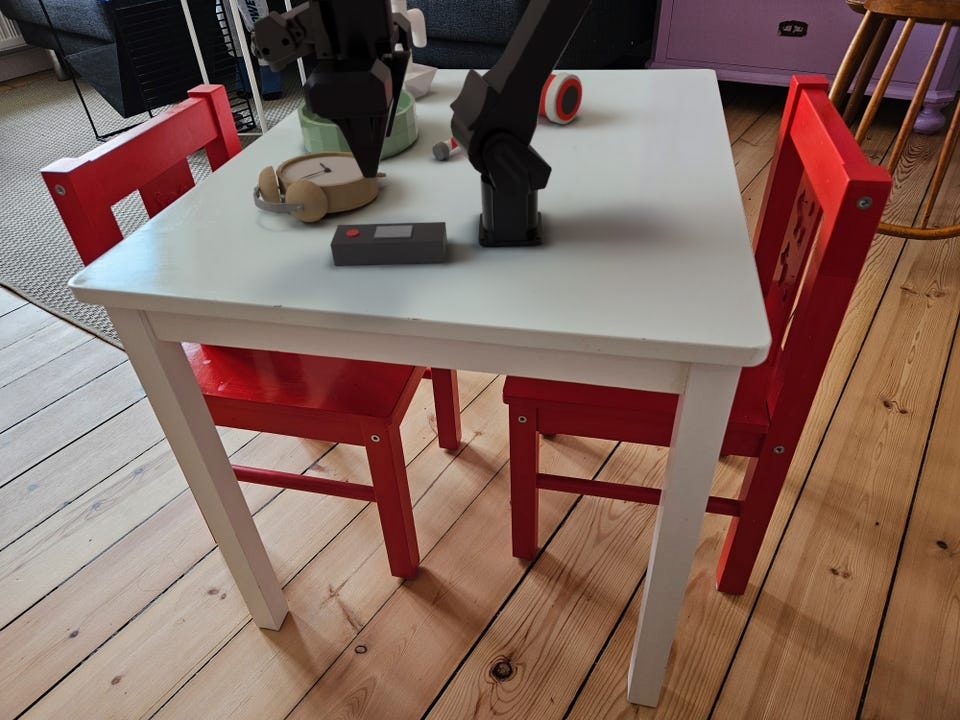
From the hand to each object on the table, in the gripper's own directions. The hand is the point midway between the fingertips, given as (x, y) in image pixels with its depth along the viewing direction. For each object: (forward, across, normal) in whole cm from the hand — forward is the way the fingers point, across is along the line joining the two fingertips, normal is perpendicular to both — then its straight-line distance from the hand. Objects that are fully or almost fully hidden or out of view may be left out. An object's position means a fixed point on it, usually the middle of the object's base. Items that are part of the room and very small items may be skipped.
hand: (378, 155), depth 65 cm
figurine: (+10, -48, -4) cm, 49 cm away
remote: (+10, 0, 0) cm, 10 cm away
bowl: (+10, -30, -8) cm, 33 cm away
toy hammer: (+10, -33, +12) cm, 37 cm away
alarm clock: (+10, -12, -10) cm, 19 cm away
